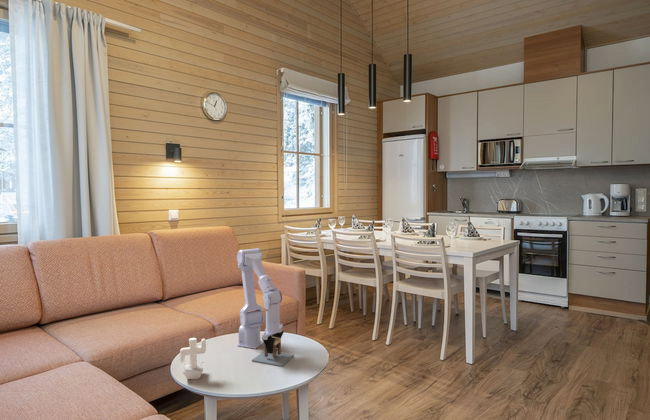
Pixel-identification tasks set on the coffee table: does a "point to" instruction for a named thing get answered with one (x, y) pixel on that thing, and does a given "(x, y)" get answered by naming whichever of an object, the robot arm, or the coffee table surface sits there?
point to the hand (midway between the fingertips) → (273, 350)
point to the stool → (275, 347)
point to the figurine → (193, 359)
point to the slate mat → (273, 359)
